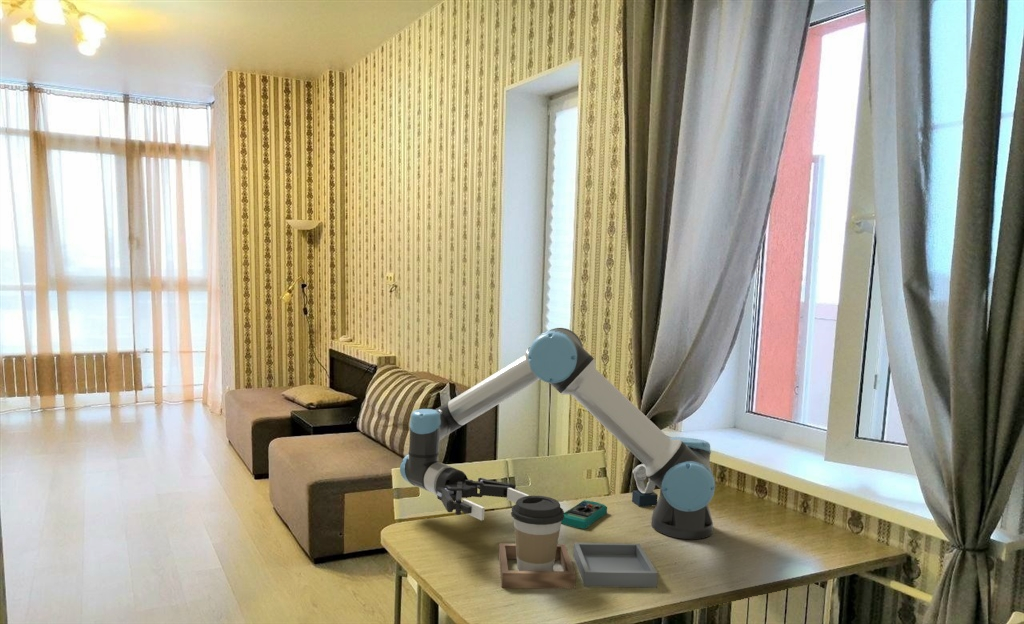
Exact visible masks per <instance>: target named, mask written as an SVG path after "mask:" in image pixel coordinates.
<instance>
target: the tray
mask: <svg viewBox="0 0 1024 624" xmlns="http://www.w3.org/2000/svg"><path fill="white" fill-rule="evenodd" d="M572 554H573V555H572V556H573V559H574V561H575V564H576V567H577V569H578V570H577V571H578V573H579V575H580V578H581V581H582V584H583V587H586V588H587V587H588V588H589V587H590V588H591V587H595V588H597V587H598V588H599V587H601V588H603V587H605V588H606V587H607V588H611V587H612V588H657V587H658V571H657V570H656V569H655V567H654V565H653V563H652V561H651V560H650V559H649V557H648V555H647V554H646V552H645V550H644V549H643V547H642V545H641V544H640V543H635V542H634V543H628V542H627V543H626V542H624V543H623V542H622V543H621V542H619V543H618V542H616V543H615V542H614V543H613V542H573V553H572Z"/></svg>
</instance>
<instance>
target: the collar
mask: <svg viewBox="0 0 1024 624" xmlns="http://www.w3.org/2000/svg"><path fill="white" fill-rule="evenodd" d="M498 560H499V561H498V562H499V563H498V564H499V571H500V580H501V582H500V583H501V588H505V589H506V588H507V589H508V588H509V589H514V588H515V589H517V588H518V589H524V588H525V589H576V575H577V574H576V571H575V568H574V565H573V563H572V559H571V557H570V554H569V551H568V548H567V546H566V544H564V543H561V544H558V543H557V549H556V555H555V560H557V561H560V564H561V567H562V570H552V571H519V570H509V568H508V560H517V555H516V543H510V542H509V543H506V542H505V543H504V542H503V543H501V542H500V543H499V544H498ZM555 560H554V561H555Z"/></svg>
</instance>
